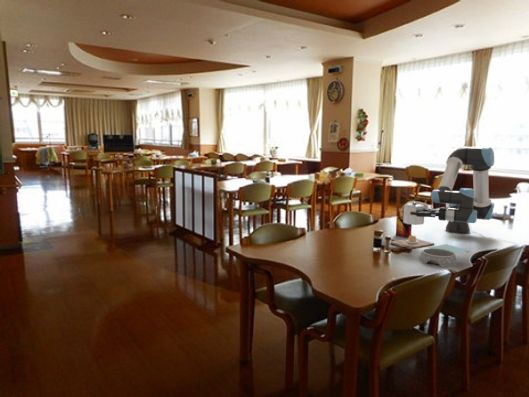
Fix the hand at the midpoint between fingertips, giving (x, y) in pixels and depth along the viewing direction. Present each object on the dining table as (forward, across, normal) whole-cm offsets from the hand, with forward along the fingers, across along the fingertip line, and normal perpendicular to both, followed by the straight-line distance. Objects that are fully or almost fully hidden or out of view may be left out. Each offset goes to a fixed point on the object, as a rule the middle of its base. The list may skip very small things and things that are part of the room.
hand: (407, 210), depth 234 cm
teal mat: (-24, 0, -21) cm, 32 cm away
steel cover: (-4, 0, -7) cm, 8 cm away
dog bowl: (-22, -27, -21) cm, 41 cm away
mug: (+4, +21, -21) cm, 30 cm away
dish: (-4, 0, -19) cm, 20 cm away
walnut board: (-4, 0, -21) cm, 21 cm away
